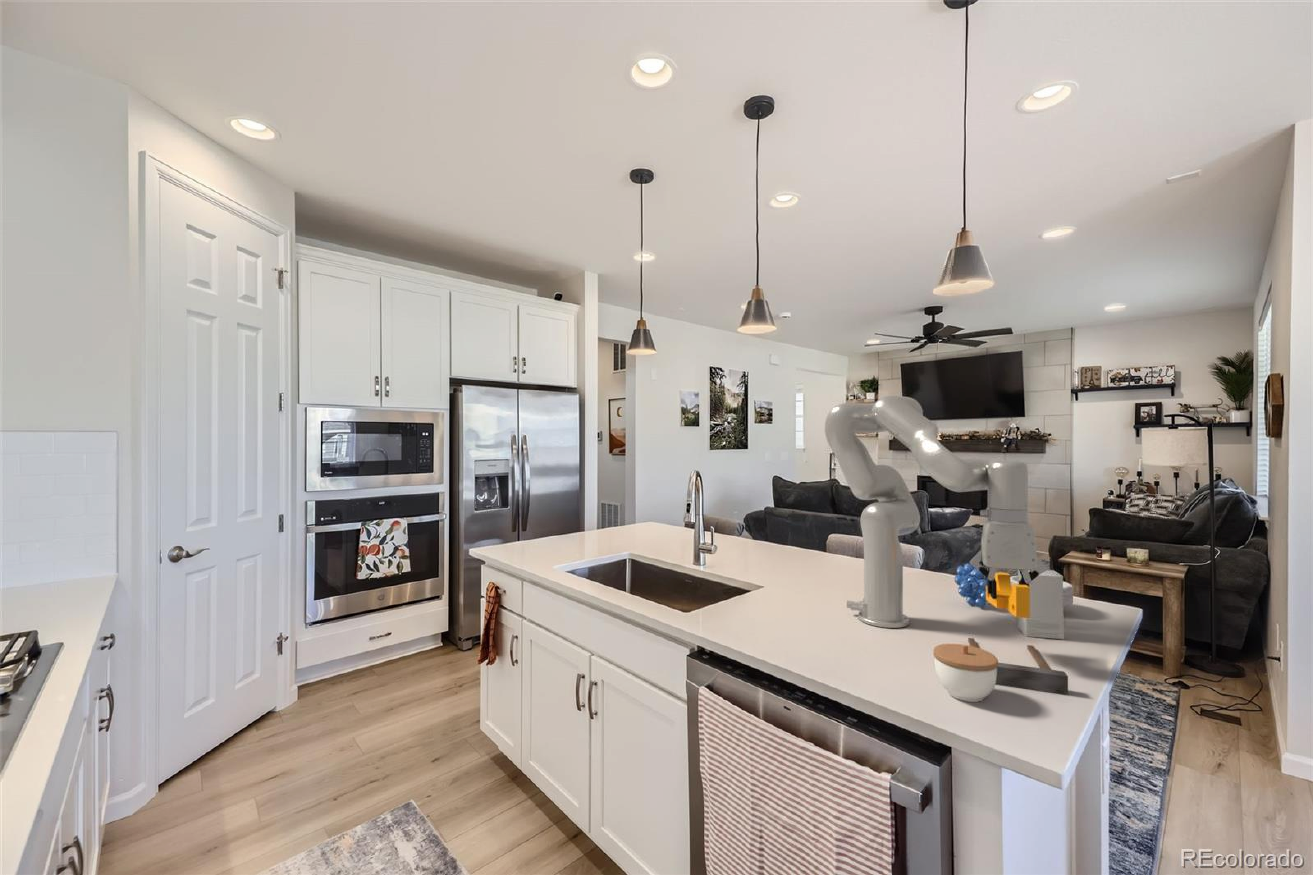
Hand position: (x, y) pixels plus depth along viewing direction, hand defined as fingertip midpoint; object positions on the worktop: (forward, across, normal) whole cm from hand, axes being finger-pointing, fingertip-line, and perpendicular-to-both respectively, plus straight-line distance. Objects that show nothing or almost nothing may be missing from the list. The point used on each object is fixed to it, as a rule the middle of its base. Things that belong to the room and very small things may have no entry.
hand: (1007, 597), depth 122 cm
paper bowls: (+14, +16, +44) cm, 49 cm away
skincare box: (+14, +11, +20) cm, 27 cm away
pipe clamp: (+3, 0, +1) cm, 3 cm away
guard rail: (+14, 0, -3) cm, 14 cm away
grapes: (+14, -2, +40) cm, 42 cm away
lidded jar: (+14, -12, -22) cm, 29 cm away
